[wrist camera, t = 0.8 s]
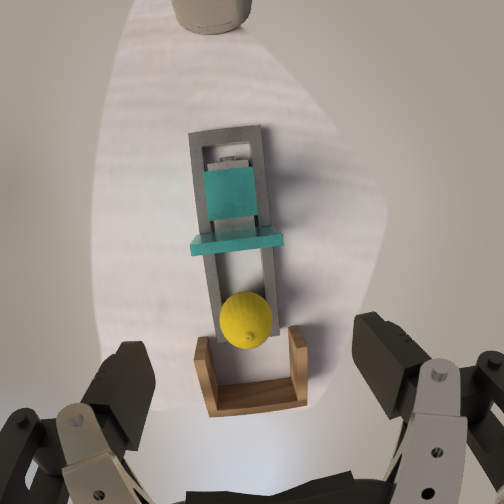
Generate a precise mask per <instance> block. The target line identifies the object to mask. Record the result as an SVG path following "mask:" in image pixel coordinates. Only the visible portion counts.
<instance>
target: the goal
mask: <svg viewBox="0 0 504 504" xmlns="http://www.w3.org/2000/svg"><path fill="white" fill-rule="evenodd" d="M288 333H289V352H290V373H291V377H289V378H283V379H277V380H270V381H262V382H255V383H246V384H237V385H226V386H218V383H217V379H216V374H215V370H214V365H213V361H212V356H211V351H210V347H209V342H208V337H200V338H198V340H197V346H196V351H195V356H194V363H195V367H196V371H197V375H198V379H199V382H200V386H201V390H202V393H203V397H204V400H205V404H206V407H207V410H208V414H209V417H224V416H236V415H246V414H255V413H263V412H270V411H277V410H284V409H290V408H296V407H301V406H306V405H307V389H308V357H307V345H306V343H305V340H304V338H303V336H302V334H301V332H300V330H299V328H298V326H292V327H288Z"/></svg>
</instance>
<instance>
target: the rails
mask: <svg viewBox="0 0 504 504" xmlns="http://www.w3.org/2000/svg"><path fill="white" fill-rule="evenodd" d="M188 135H189V146H190V156H191V166H192V175H193V184H194V193H195V201H196V209H197V217H198V224H199V232H200V234H209V233H212V225H211V221H209V218H208V210H207V202H206V193H205V184H204V175H203V172H205V165H204V156H203V148H209V147H217V146H226V145H235V144H244V143H249V144H250V154H251V163H252V166H253V172H254V181H255V191H256V200H257V210H258V215H257V221H258V228H260V227H269V226H271V223H270V213H269V202H268V192H267V182H266V173H265V163H264V154H263V145H262V136H261V127H260V125H257V126H245V127H234V128H225V129H216V130H209V131H201V132H194V133H188ZM260 251H261V261H262V271H263V281H264V291H265V301H266V302H267V303H268V305H269V307H270V308H271V311H272V316H273V326H272V330H271V333H270V335H269V336H270V337H272V336H279V335H280V331H279V318H278V305H277V292H276V280H275V268H274V256H273V247H266V248H260ZM203 260H204V266H205V273H206V279H207V285H208V291H209V297H210V303H211V309H212V315H213V321H214V326H215V332H216V337H217V342H218V343H221V342H228V340H227V339H226V338H225V337H224V334H223V332H222V330H221V327H220V321H219V318H220V311H221V309H222V306H223V303H222V297H221V290H220V283H219V277H218V270H217V263H216V255H215V254H206V255H203Z"/></svg>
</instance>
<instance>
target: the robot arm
mask: <svg viewBox="0 0 504 504" xmlns="http://www.w3.org/2000/svg"><path fill="white" fill-rule="evenodd" d="M171 2H172V5H173V8H174V11H175V14H176V17H177V20H178V22H179V23H180V24H181V25H182V26H183V27H184V28H185V29H187V30H189V31H192V32H195V33H199V34H219V33H224V32H227V31H230V30H232V29H234V28H236V27H238V26H240V25H241V24H242V23H244V21H245V20H246V19H247V18H248V16H249V14H250V10H251V4H252V0H171ZM352 356H353V360H354V363H355V365H356V366H357V368H358V369H359V371H360V372H361V374H362V376H363V377H364V379H365V381H366V382H367V384H368V385H369V387H370V389H371V390H372V392H373V394H374V395H375V397H376V398H377V400H378V402H379V403H380V405H381V406H382V408H383V410H384V411H385V413H386V415H387V416H388V418H389V419H390V420H391V419H393V418H396V417H399V416H401V417H402V419H403V422H402V425H401V429H400V432H399V436H398V439H397V442H396V446H395V449H394V452H393V456H392V459H391V462H390V465H389V467H388V470H387V472H386V474H385V477H384V478H383V481H381V480H375V479H354V478H353V475H352V473H351V471H347V472H344V473H340V474H336V475H332V476H328V477H324V478H320V479H315V480H311V481H309V482H307V483H304V484H302V485H299V486H297V487H294V488H292V489H289V490H287V491H284V492H281V493H278V494H275V495H272V496H261V495H251V494H242V493H235V492H229V491H218V492H217V491H216V492H215V491H214V492H194V491H186V501H181V502H177V503H174V504H458V500H459V495H460V490H461V484H462V478H463V471H464V463H465V453H466V443H467V444H468V446H469V447H470V449H471V451H472V452H473V454H474V455H475V457H476V458H477V460H478V461H479V463H480V465H481V466H482V468H483V470H484V471H485V473H486V475H487V476H488V478H489V480H490V481H491V483H492V485H493V486H494V488H495V490H496V492H497V495H496V501H495V502H496V503H495V504H504V426H503V425H502V424H501V423H500V421H499V420H498V419H497V418H496V416H495V415H494V414H493V413H492V411H491V410H490V409H491V407H492V405H493V404H494V402H495V403H496V404H497V406H498V407H499V408H500V409H501V410H502V412H503V413H504V354H502V353H500V352H497V351H486V352H483V353H482V354H480V356H479V357H478V360H477V363H476V365H475V366H471V367H465V368H458V367H457V366H456V365H455V364H454V363H453V362H451V361H448V360H446V359H439V358H438V359H432V358H431V357H430V356H429V355H428V354H427V353H426V352H425V351H423V349H422V348H421V347H420V346H419V345H418V344H417V343H416V342H415V341H414V340H412V338H411V337H410V336H409V335H408V334H407V335H406V332H405V331H404V330H403V329H402V328H401V327H400V326H398V325H396V324H394V323H392V322H390V321H384V320H383V319H382V318H381V317H380V316H379V315H378V314H377V313H376V312H369V313H364V314H359V315H356V316H355V318H354V328H353V341H352ZM155 384H156V381H155V374H154V371H153V368H152V365H151V363H150V360H149V357H148V354H147V351H146V348H145V345H144V343H143V342H142V341H126V342H122V343H121V345H120V347H119V348H118V350H117V352H116V354H112V355H111V356H109V357H108V358H107V359H106V360H105V361H104V362H103V363H102V365H101V366H100V368H99V370H98V372H97V373H96V375H95V377H94V379H93V380H92V382H91V384H90V386H89V388H88V389H87V391H86V393H85V395H84V396H83V398H82V400H81V402H80V403H74V404H70V405H68V406H66V407H65V408H63V409H62V410H61V411H60V412H59V413H58V415H57V417H56V418H53V419H42V420H40V418H39V417H38V415H37V414H36V413H35V411H34V410H32V409H30V408H22V409H18V410H16V411H15V412H13V413H12V414H11V415H10V417H9V418H8V420H7V421H6V423H5V425H4V427H3V428H2V430H1V432H0V504H67V503H68V499H69V495H70V497H71V500H72V502H73V504H155V503H154V502H153V501H152V499H151V498H150V497H149V495H148V494H147V492H146V491H145V489H144V488H143V486H142V485H141V483H140V482H139V480H138V479H137V477H136V475H135V474H134V472H133V471H132V469H131V467H130V466H129V464H128V462H127V460H126V459H125V458H124V454H125V451H126V450H130V451H138V447H139V443H140V439H141V436H142V432H143V428H144V425H145V421H146V417H147V414H148V410H149V407H150V403H151V400H152V397H153V393H154V390H155ZM32 459H33V460H34V461H35V462H36V463H37V464H38V465H39V466H38V469H37V472H36V474H35V477H34V479H33V482H32V485H31V487H30V490H28V488H27V487H26V484H25V476H26V473H27V471H28V468H29V466H30V464H31V461H32Z"/></svg>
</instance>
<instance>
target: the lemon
mask: <svg viewBox="0 0 504 504" xmlns="http://www.w3.org/2000/svg"><path fill="white" fill-rule="evenodd" d="M219 321H220V327H221V330H222V332H223V334H224V337H225V338H226V339H227V340H228V341H229V342H230V343H231V344H232V345H234V346H236V347H239V348H243V349H251V348H255V347H257V346H259V345H261V344H262V343H264V342H265V341H266V340H267V338H268V337H269V335H270V333H271V330H272V326H273V316H272V311H271V308H270V307H269V305H268V303H267V302H266V301H265V300H264V299H263V298H262V297H261V296H259V295H258V294H256V293H253V292H245V291H244V292H238V293H236V294H234V295H232V296H231V297H229V298H228V299H227V300H226V302H225V303H224V304H223V306H222V309H221V311H220V318H219Z"/></svg>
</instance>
